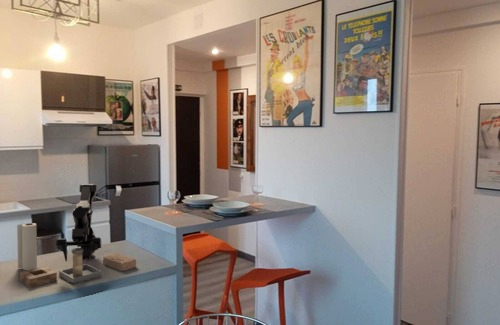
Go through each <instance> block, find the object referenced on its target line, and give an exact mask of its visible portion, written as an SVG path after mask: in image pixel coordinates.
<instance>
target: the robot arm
mask: <svg viewBox="0 0 500 325" xmlns="http://www.w3.org/2000/svg"><path fill="white" fill-rule="evenodd" d="M78 190H79V193H80V200H79V202H78V203H77V204H76V206H75V208H73V211H72V216H73V218H72V219H73V222H74V228H72V231H71V239H72V240H71V241H67V238H57V239H56V241H55V245H56V249H57V250H58V251H60V252H62V253H63V257H64V261H65V263H66V262H68V247H71V246H76V247H77V248H83V252H82V260H87V261H90V259H91V258H92V257H93V258H95V257H96V255H94V253H95V252H96V251H98V250H99V249H101V248H102V238H101V237H97V236H96V234H95V232H94V230H93V228H92V216H93V212H94V210H93V200H94V199H95V198H96V195H97V193H98V185H97V184H95V183H82V184H80V185H79V189H78Z"/></svg>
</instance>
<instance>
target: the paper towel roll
mask: <svg viewBox="0 0 500 325" xmlns="http://www.w3.org/2000/svg"><path fill="white" fill-rule="evenodd" d="M16 228H17V231H16V233H17V238H16V239H17V269H22V270H23V271H28V270H32V269H37V268H38V260H37V258H38V254H37V253H38V248H37V245H38V244H37V240H38V239H37V223H35V222H34V223H33V222H29V223H21V224H17V226H16Z"/></svg>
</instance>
